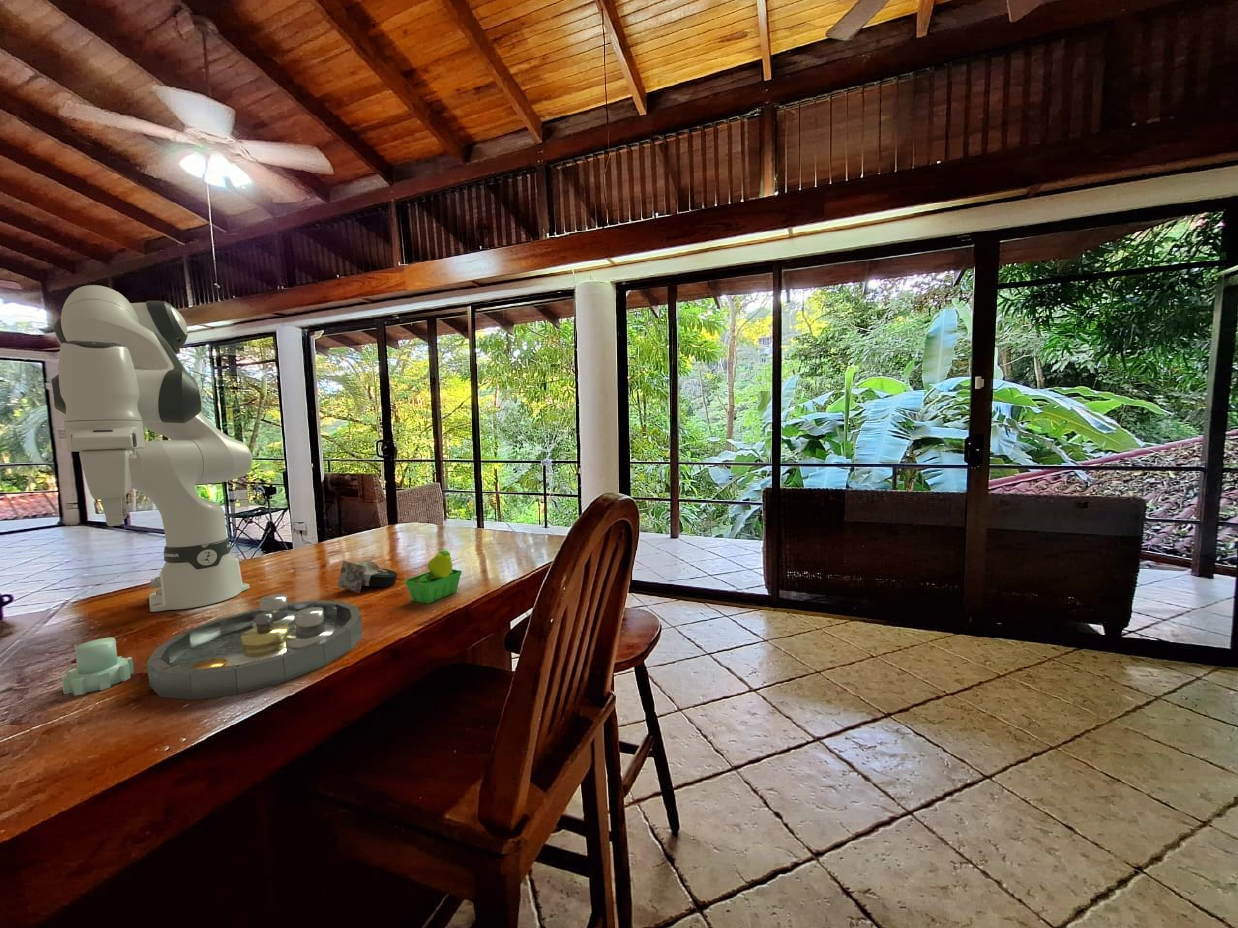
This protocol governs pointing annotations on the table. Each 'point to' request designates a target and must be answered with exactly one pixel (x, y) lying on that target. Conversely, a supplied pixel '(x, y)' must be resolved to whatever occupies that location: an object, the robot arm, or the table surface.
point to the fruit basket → (435, 580)
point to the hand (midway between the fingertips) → (117, 522)
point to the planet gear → (97, 667)
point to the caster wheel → (364, 576)
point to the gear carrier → (254, 648)
